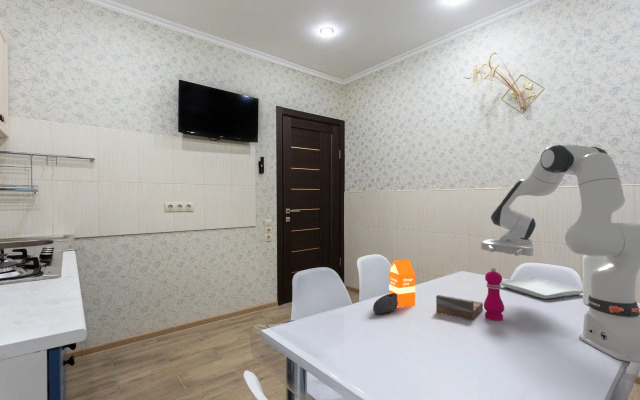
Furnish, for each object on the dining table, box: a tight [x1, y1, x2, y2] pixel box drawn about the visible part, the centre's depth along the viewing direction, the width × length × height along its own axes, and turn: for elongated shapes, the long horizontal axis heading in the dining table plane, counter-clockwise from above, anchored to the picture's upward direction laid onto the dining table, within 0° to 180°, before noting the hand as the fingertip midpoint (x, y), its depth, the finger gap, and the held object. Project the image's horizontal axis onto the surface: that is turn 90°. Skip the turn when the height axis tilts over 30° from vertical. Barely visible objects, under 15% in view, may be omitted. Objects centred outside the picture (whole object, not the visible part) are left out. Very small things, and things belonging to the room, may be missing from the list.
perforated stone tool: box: [372, 293, 398, 315], centre depth 137 cm, size 15×5×7 cm, turn 128°
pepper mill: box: [483, 267, 505, 322], centre depth 129 cm, size 7×7×20 cm
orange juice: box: [388, 259, 416, 308], centre depth 147 cm, size 8×9×20 cm
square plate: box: [500, 277, 583, 300], centre depth 166 cm, size 27×27×4 cm
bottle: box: [582, 255, 606, 306], centre depth 144 cm, size 8×8×30 cm
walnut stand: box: [435, 294, 484, 321], centre depth 137 cm, size 16×14×7 cm
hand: (503, 252), depth 138 cm, fingers open, 8 cm apart
